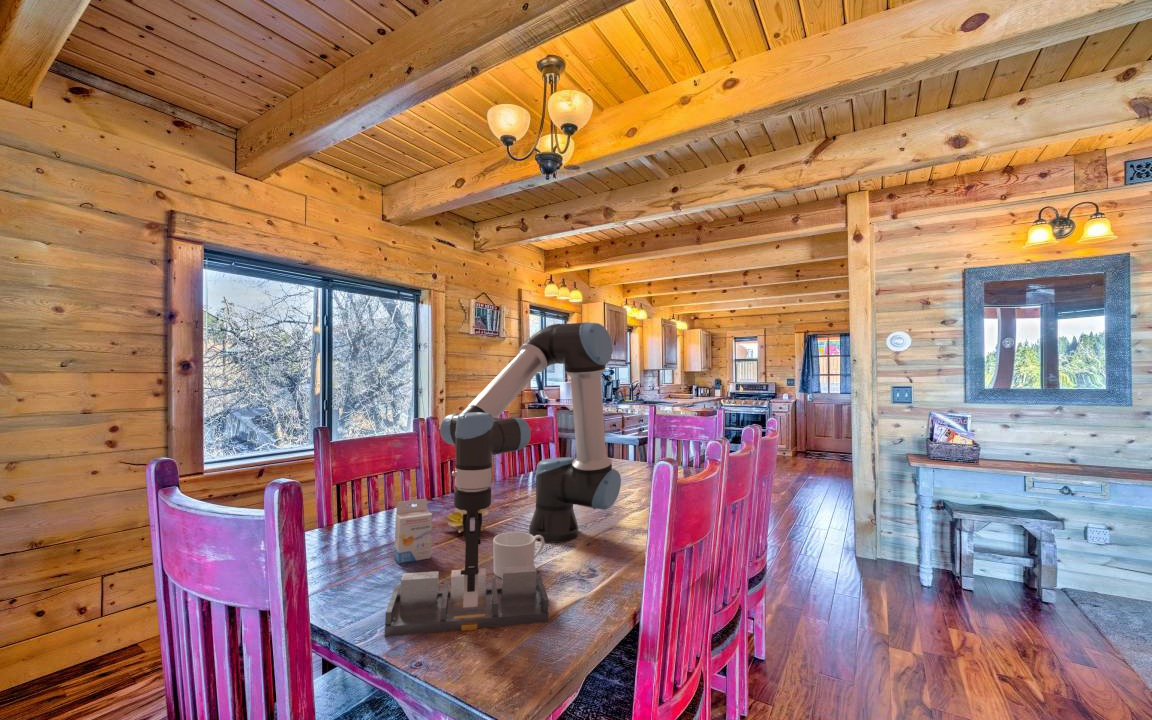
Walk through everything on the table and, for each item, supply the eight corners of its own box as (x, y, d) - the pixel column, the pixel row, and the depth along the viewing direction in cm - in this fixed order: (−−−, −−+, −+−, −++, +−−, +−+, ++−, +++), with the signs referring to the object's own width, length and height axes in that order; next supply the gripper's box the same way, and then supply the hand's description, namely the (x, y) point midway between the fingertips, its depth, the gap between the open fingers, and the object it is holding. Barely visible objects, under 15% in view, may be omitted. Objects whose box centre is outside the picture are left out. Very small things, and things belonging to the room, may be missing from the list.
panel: (484, 601, 102) (485, 568, 102) (485, 608, 98) (486, 574, 99) (450, 604, 100) (451, 570, 100) (450, 611, 97) (451, 576, 97)
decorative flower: (432, 521, 152) (441, 490, 153) (463, 523, 159) (471, 493, 160) (453, 538, 140) (463, 504, 141) (486, 539, 147) (494, 507, 149)
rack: (539, 592, 109) (540, 556, 109) (548, 623, 96) (549, 582, 96) (395, 603, 102) (396, 564, 103) (383, 638, 89) (385, 593, 89)
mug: (500, 583, 113) (501, 549, 113) (486, 566, 122) (487, 535, 123) (552, 573, 119) (552, 540, 119) (535, 558, 129) (536, 528, 129)
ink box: (398, 564, 122) (400, 506, 123) (393, 558, 127) (395, 502, 127) (431, 558, 127) (433, 502, 127) (426, 552, 131) (427, 497, 132)
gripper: (456, 474, 111) (454, 566, 111) (451, 504, 87) (448, 623, 86) (489, 473, 113) (487, 564, 112) (493, 503, 88) (491, 619, 88)
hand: (470, 590), depth 99 cm, fingers open, 13 cm apart
